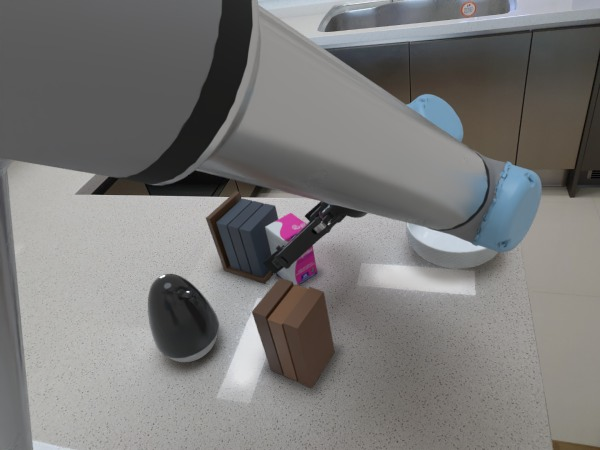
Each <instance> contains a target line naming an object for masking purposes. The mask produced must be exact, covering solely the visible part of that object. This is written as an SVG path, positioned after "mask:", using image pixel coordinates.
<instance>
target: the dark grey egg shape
mask: <svg viewBox="0 0 600 450" xmlns="http://www.w3.org/2000/svg"><path fill="white" fill-rule="evenodd" d="M147 316H148V324H149V329H150V332H151V336H152V339H153V342H154V344H155V347H156V348H157V350H158V351H159V352H160V353H161V354H162V355H164V356H165V357H167V358H169V359H170V360H171V361H175V362H177V363H178V362H179V363H190V362H195V361H197V360H199V359H201V358H203V357H204V356H206V355H207V354H208V353H209V352H210V351H211V350H212V348H213V347H214V346H215V344H216V341H217V339H218V334H219V328H220V321H219V317H218V315H217V313H216V311H215V309H214V308H213V307H212V304H211V303H210V301H209V300H208V299H207V298H206V296H204V294H203V293H202V292H201V291H200V290H199V288H197V287H196V286H195V285H194V284H193V283H192V282H191V281H189V280H188V279H187V278H185V277H183V276H181V275H178V274H176V273H165V274H162V275H160V276H158V277H157V278H156V279H155V280H154V281H153V282H152V284H151V286H150V288H149V292H148V295H147Z"/></svg>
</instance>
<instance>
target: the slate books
mask: <svg viewBox="0 0 600 450" xmlns="http://www.w3.org/2000/svg"><path fill="white" fill-rule="evenodd" d="M278 219H279V216H278V212H277V207H276V205H274V204H269V203H264V202H261V201H256V200H251V199H248V198H247V199H246V198H242V194H241V192H240V191H237V190H234V192H233V193H232V194H231V195H230V196H228V197H227V198H226V199H224V201H223V202H222V203H221V204H220V205H218V206H217V207H216V208H215V209H214V210H213V211H211V212H210V213H209V214H208V215H207V216H206V217H205V220H206V223H207V226H208V229H209V231H210V235H211V237H212V240H213V244H214V246H215V249H216V251H217V254H218V256H219V257H218V258H219V260H220V263H221V266H222V269H223V271H224V272H228V273H231V274H233V275H236V276H240V277H243V278H246V279H249V280H251V281H255V282H257V283H260V284H266V283H267V282H268V280H269V279H270V278H271V277H272V276H273V275H274V273H273V272H272V271H271V270H269V269H268V268H267V267H266V266H265V265H264V264H263V262H264V261H265V260H266V259H267V258H269V257H270V256H271V250H270V246H269V242H268V238H267V234H266V229H265V227H266V226H267V225H269V224H271V223H273V222H275V221H276V220H278Z"/></svg>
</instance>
